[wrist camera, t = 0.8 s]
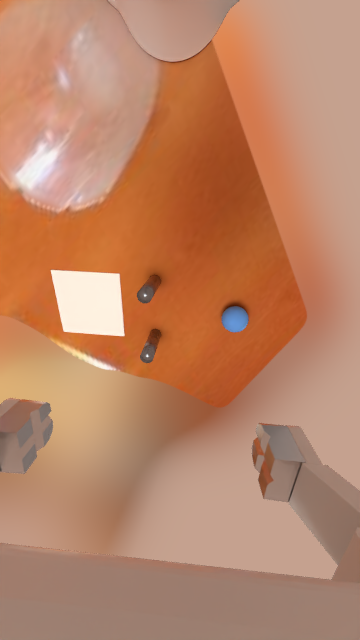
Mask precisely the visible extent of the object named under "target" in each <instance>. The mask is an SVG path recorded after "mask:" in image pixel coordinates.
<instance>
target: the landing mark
mask: <svg viewBox="0 0 360 640" xmlns="http://www.w3.org/2000/svg"><path fill="white" fill-rule="evenodd" d="M51 274H52V278H53V283H54V288H55V293H56V297H57V302H58V307H59V312H60V316H61V321H62V326H63V331H64V332H75V333H88V334H102V335H115V336H125V333H124V321H123V309H122V297H121V285H120V274H118V273H100V272H82V271H64V270H51Z"/></svg>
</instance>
